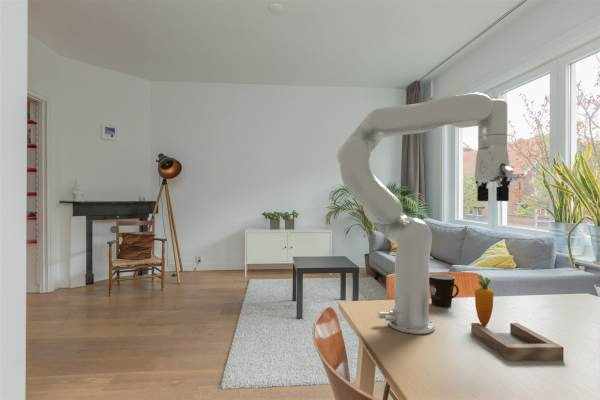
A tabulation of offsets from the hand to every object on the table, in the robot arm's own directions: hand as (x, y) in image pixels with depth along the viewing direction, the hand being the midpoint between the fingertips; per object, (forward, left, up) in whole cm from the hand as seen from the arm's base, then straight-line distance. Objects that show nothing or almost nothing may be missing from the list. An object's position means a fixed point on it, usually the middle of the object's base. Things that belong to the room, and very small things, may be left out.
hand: (492, 201), depth 102 cm
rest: (-3, -14, -37) cm, 39 cm away
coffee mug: (-6, +20, -37) cm, 42 cm away
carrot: (-3, -1, -37) cm, 37 cm away
